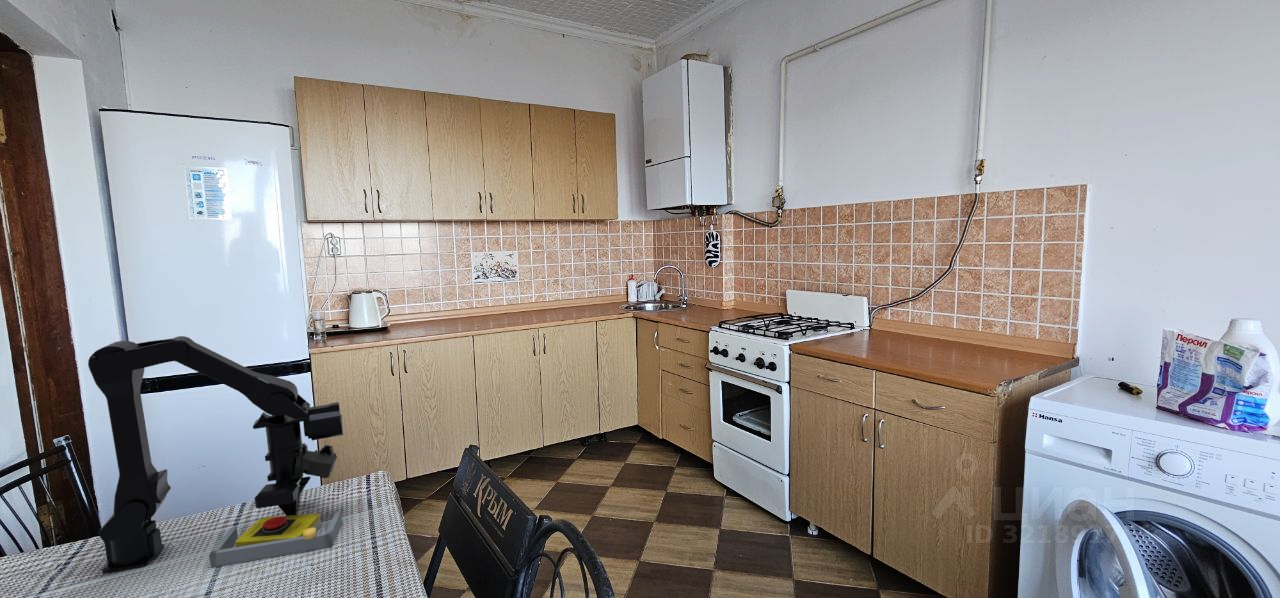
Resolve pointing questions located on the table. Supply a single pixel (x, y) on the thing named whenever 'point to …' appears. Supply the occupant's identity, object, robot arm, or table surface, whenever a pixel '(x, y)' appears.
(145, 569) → the table surface
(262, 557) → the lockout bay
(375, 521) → the table surface
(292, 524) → the emergency button
